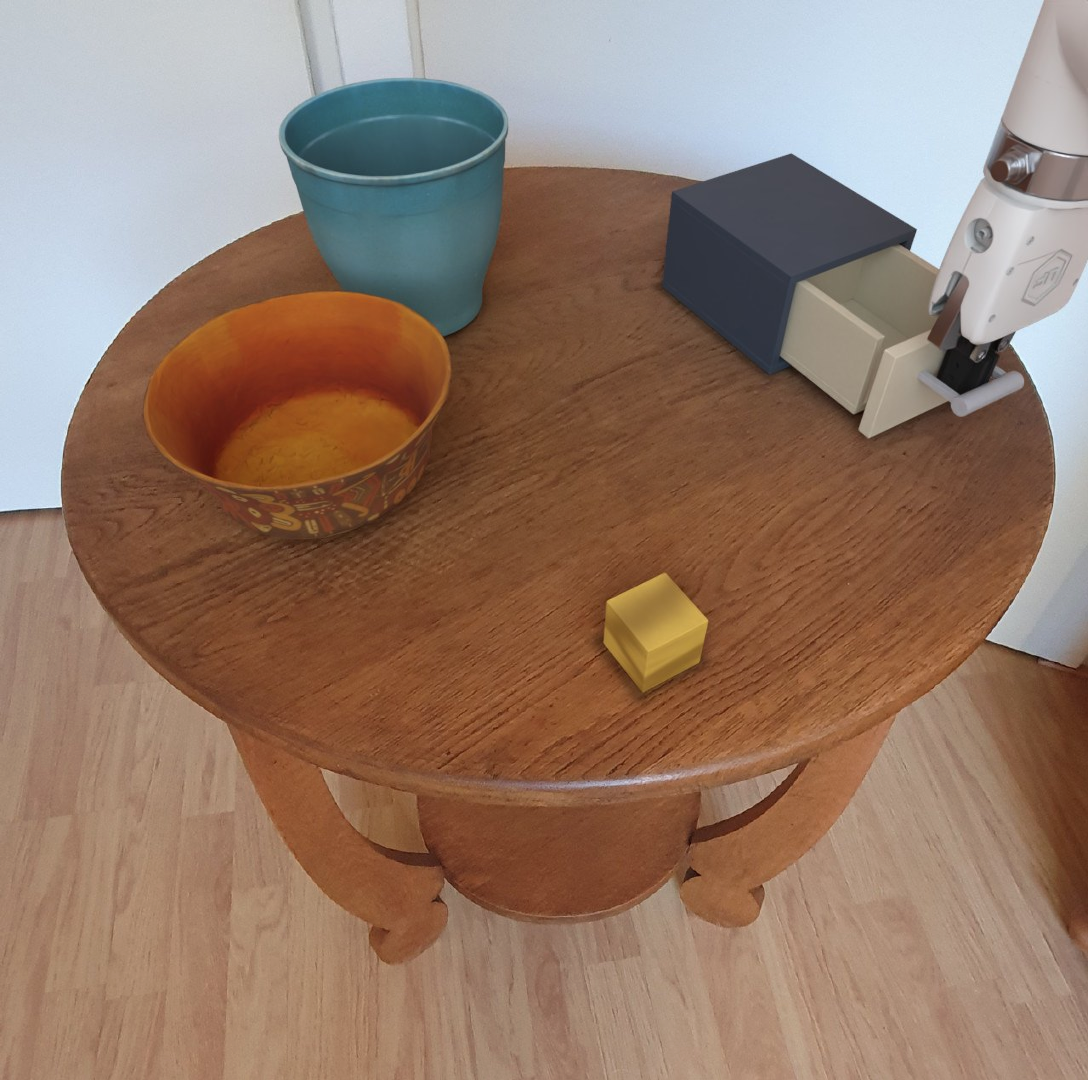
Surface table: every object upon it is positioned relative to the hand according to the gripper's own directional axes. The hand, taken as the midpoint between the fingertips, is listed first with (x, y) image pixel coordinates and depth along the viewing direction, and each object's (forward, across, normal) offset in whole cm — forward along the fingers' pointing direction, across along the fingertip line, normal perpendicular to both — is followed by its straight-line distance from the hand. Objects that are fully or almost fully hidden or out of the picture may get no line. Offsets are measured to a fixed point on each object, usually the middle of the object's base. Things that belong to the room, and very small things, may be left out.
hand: (957, 390), depth 72 cm
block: (+4, -32, -5) cm, 33 cm away
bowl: (+5, -44, +21) cm, 49 cm away
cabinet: (+4, 0, +21) cm, 21 cm away
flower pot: (+5, -28, +38) cm, 47 cm away
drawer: (+4, 0, +7) cm, 8 cm away
